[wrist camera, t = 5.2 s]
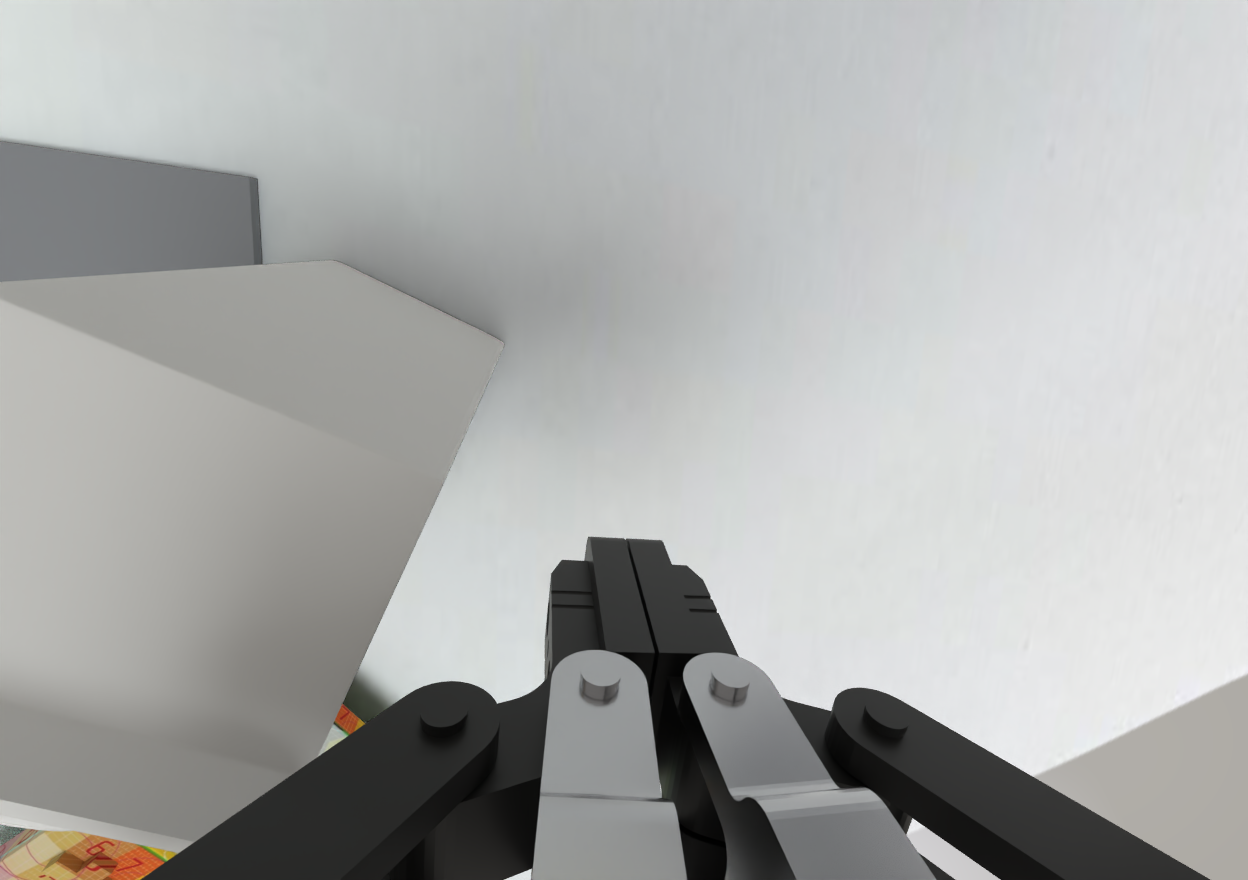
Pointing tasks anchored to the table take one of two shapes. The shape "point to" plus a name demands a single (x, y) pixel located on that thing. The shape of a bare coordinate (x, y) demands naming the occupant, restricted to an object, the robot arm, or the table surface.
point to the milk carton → (205, 526)
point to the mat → (119, 216)
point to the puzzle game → (105, 843)
